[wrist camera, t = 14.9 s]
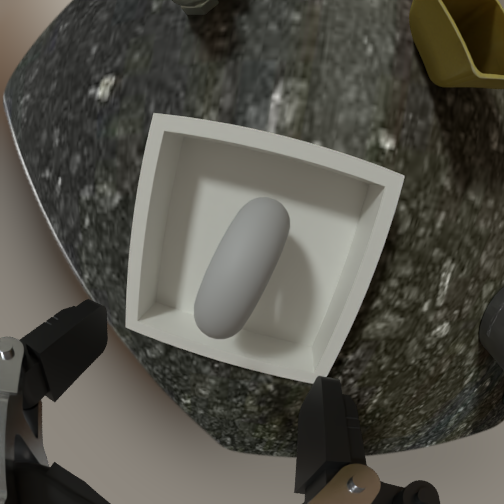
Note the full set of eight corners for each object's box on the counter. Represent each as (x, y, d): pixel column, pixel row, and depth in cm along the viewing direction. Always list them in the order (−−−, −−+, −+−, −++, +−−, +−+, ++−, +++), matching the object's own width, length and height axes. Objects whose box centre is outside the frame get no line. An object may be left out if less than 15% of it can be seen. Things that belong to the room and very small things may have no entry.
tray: (382, 174, 21) (404, 175, 16) (318, 352, 27) (321, 385, 22) (178, 123, 22) (153, 113, 17) (149, 303, 27) (125, 327, 23)
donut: (258, 184, 22) (234, 193, 12) (297, 203, 22) (304, 226, 12) (211, 288, 25) (169, 353, 15) (246, 305, 25) (221, 378, 15)
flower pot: (454, 26, 15) (496, -6, 6) (484, 100, 17) (540, 86, 8) (388, 22, 17) (421, -26, 8) (421, 102, 19) (476, 77, 10)
